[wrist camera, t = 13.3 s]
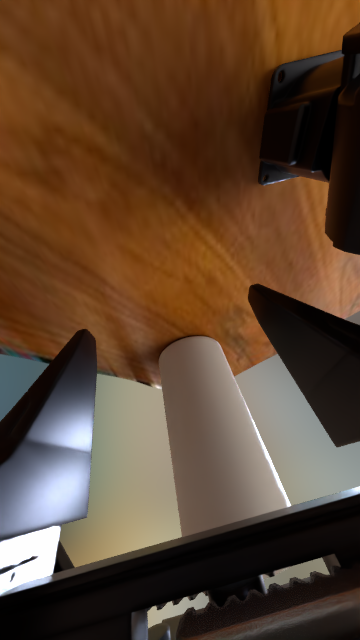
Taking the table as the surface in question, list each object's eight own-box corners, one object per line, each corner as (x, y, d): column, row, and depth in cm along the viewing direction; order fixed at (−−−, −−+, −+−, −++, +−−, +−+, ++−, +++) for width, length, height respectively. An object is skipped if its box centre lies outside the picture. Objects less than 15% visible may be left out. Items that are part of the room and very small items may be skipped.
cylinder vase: (226, 330, 32) (337, 549, 15) (213, 365, 41) (273, 529, 24) (157, 338, 30) (195, 607, 13) (158, 374, 39) (183, 561, 22)
